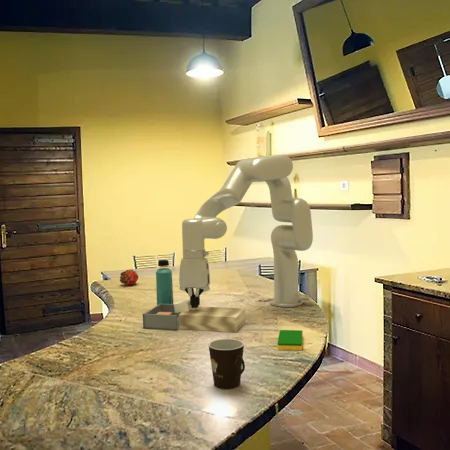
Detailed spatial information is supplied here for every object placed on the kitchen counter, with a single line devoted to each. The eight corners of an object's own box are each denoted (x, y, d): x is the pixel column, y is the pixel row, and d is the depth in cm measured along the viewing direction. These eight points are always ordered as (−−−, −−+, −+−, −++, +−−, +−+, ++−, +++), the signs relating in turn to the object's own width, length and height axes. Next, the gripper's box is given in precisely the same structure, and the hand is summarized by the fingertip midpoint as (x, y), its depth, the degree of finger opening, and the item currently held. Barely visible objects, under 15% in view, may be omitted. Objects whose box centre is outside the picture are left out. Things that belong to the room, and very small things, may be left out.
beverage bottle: (171, 313, 196) (169, 261, 195) (154, 313, 198) (152, 261, 196) (176, 309, 203) (174, 258, 201) (159, 308, 204) (158, 258, 202)
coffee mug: (208, 378, 131) (207, 339, 130) (242, 376, 131) (241, 338, 130) (211, 397, 119) (210, 355, 118) (248, 395, 120) (247, 353, 119)
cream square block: (192, 307, 182) (191, 299, 182) (188, 311, 177) (187, 302, 177) (179, 309, 183) (178, 301, 183) (175, 312, 178) (173, 304, 178)
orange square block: (158, 311, 185) (159, 320, 185) (154, 315, 180) (154, 323, 180) (172, 312, 184) (172, 320, 184) (167, 315, 179) (168, 324, 179)
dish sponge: (302, 337, 164) (302, 330, 164) (302, 351, 150) (301, 343, 150) (280, 337, 165) (279, 329, 165) (277, 351, 151) (277, 343, 151)
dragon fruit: (122, 291, 247) (132, 289, 258) (136, 280, 246) (145, 279, 257) (113, 276, 248) (123, 275, 260) (126, 266, 247) (136, 265, 259)
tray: (191, 318, 188) (191, 305, 188) (176, 330, 174) (176, 315, 173) (160, 316, 192) (160, 303, 191) (143, 328, 177) (142, 314, 177)
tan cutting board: (244, 322, 181) (244, 308, 181) (236, 332, 170) (236, 317, 169) (191, 319, 187) (190, 306, 186) (179, 329, 175) (178, 314, 175)
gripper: (217, 253, 179) (218, 305, 181) (177, 252, 183) (178, 303, 185) (211, 256, 172) (212, 310, 174) (169, 255, 176) (170, 308, 178)
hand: (195, 307), depth 179 cm, fingers closed
